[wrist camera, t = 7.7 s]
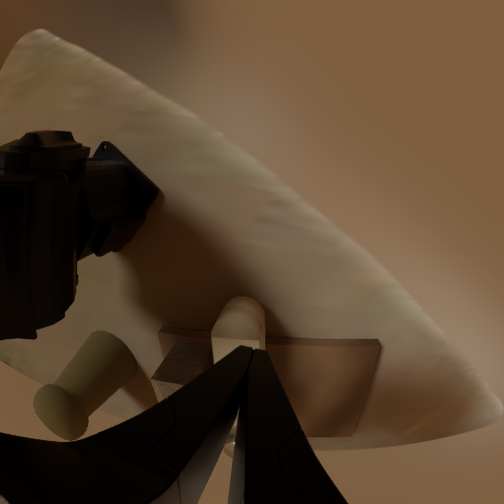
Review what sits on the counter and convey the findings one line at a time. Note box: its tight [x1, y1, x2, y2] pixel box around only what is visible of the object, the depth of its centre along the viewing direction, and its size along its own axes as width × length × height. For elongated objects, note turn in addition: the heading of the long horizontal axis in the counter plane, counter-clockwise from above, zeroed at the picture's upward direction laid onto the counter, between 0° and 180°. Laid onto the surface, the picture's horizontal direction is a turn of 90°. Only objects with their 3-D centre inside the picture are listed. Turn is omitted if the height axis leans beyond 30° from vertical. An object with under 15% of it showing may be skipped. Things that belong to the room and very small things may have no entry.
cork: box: [33, 331, 136, 441], centre depth 20 cm, size 6×6×11 cm
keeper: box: [151, 342, 239, 458], centre depth 21 cm, size 9×8×6 cm
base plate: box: [158, 326, 380, 437], centre depth 23 cm, size 18×12×1 cm, turn 91°
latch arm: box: [211, 296, 265, 446], centre depth 20 cm, size 15×4×3 cm, turn 1°
